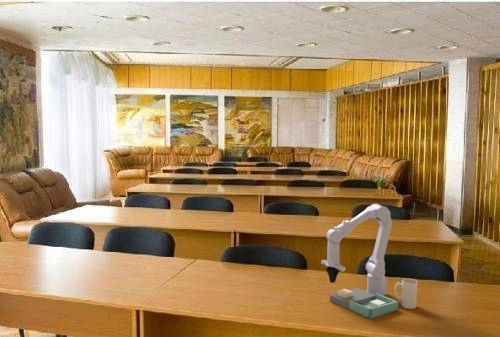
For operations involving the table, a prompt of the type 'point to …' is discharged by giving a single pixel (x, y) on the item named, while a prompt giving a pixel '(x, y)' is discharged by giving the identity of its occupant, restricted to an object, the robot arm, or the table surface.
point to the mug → (407, 292)
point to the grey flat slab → (353, 298)
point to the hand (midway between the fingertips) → (332, 282)
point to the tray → (374, 311)
